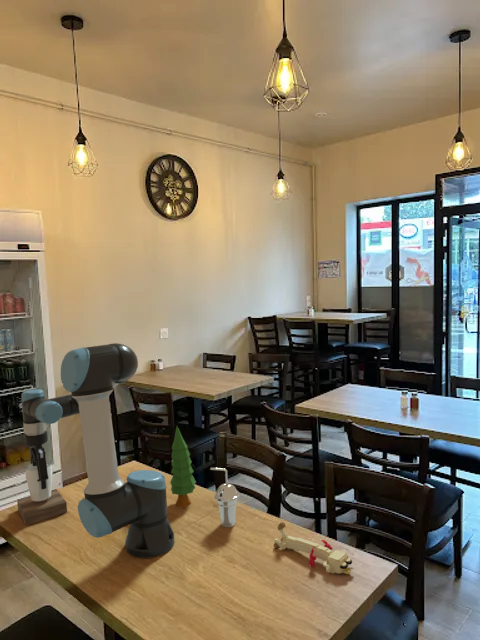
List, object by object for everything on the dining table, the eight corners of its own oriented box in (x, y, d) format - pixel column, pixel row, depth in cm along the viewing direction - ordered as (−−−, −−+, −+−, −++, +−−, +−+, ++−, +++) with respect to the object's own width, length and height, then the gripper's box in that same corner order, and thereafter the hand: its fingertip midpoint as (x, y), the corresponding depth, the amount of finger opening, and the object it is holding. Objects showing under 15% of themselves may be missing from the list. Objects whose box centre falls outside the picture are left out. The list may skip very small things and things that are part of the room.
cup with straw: (235, 532, 155) (232, 473, 153) (210, 527, 158) (207, 469, 156) (244, 519, 162) (242, 463, 161) (220, 515, 166) (217, 460, 164)
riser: (67, 512, 173) (66, 502, 172) (25, 525, 164) (24, 514, 164) (57, 498, 184) (56, 488, 184) (18, 510, 176) (17, 499, 176)
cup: (44, 503, 168) (42, 471, 167) (22, 502, 170) (19, 470, 169) (59, 492, 177) (56, 461, 176) (37, 491, 179) (35, 460, 178)
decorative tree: (166, 506, 174) (161, 427, 171) (179, 495, 183) (175, 419, 180) (189, 510, 170) (185, 429, 168) (201, 498, 179) (197, 421, 176)
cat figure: (270, 556, 143) (342, 583, 126) (267, 527, 143) (339, 551, 126) (289, 541, 151) (360, 565, 134) (286, 514, 150) (357, 535, 133)
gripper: (54, 437, 165) (59, 499, 167) (39, 423, 182) (44, 479, 184) (31, 442, 161) (36, 506, 163) (18, 427, 178) (23, 485, 180)
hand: (40, 492), depth 173 cm, fingers closed on cup, 9 cm apart
